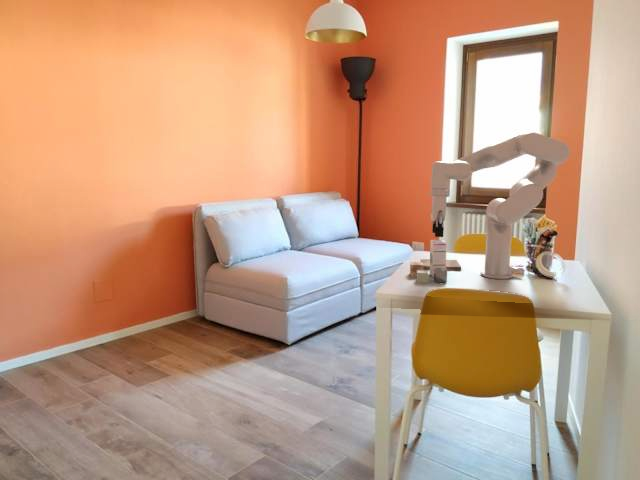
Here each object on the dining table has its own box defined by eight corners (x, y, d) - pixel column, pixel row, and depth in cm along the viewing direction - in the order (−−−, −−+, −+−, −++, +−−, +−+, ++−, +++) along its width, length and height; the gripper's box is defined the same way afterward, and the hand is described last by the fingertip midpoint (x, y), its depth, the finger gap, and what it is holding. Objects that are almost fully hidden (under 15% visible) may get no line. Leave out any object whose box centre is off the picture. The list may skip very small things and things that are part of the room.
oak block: (422, 274, 217) (422, 262, 216) (423, 277, 212) (423, 265, 211) (409, 273, 217) (410, 262, 216) (410, 276, 212) (411, 264, 211)
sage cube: (426, 280, 206) (427, 270, 206) (427, 283, 202) (428, 273, 202) (416, 280, 207) (416, 270, 206) (417, 282, 203) (417, 272, 202)
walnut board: (456, 263, 236) (456, 259, 235) (461, 270, 222) (461, 266, 222) (420, 262, 237) (420, 259, 237) (423, 269, 224) (423, 266, 224)
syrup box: (446, 277, 211) (447, 242, 208) (431, 277, 211) (432, 242, 208) (443, 273, 216) (444, 239, 214) (428, 273, 216) (430, 239, 214)
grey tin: (445, 280, 206) (446, 268, 205) (447, 283, 201) (448, 271, 200) (433, 280, 206) (433, 267, 206) (434, 283, 202) (434, 270, 201)
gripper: (428, 190, 216) (426, 231, 219) (432, 194, 199) (430, 238, 202) (446, 191, 215) (444, 231, 219) (452, 194, 199) (449, 238, 202)
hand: (437, 234), depth 210 cm, fingers open, 9 cm apart
